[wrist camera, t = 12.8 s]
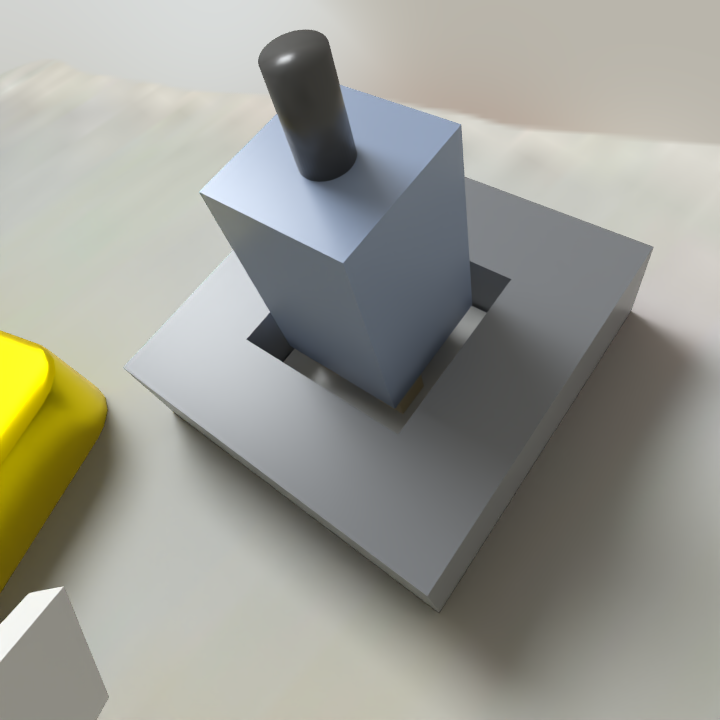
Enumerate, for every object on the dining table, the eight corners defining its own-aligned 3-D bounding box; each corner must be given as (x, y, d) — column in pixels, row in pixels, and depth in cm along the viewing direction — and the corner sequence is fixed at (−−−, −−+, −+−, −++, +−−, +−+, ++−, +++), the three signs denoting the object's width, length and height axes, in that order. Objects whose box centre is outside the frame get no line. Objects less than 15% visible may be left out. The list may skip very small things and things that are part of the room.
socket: (171, 410, 26) (122, 367, 23) (360, 195, 30) (343, 131, 27) (439, 612, 20) (427, 595, 17) (631, 310, 24) (653, 247, 21)
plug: (302, 367, 24) (141, 94, 13) (374, 280, 26) (282, -32, 15) (401, 428, 22) (307, 164, 11) (473, 330, 24) (453, 8, 13)
